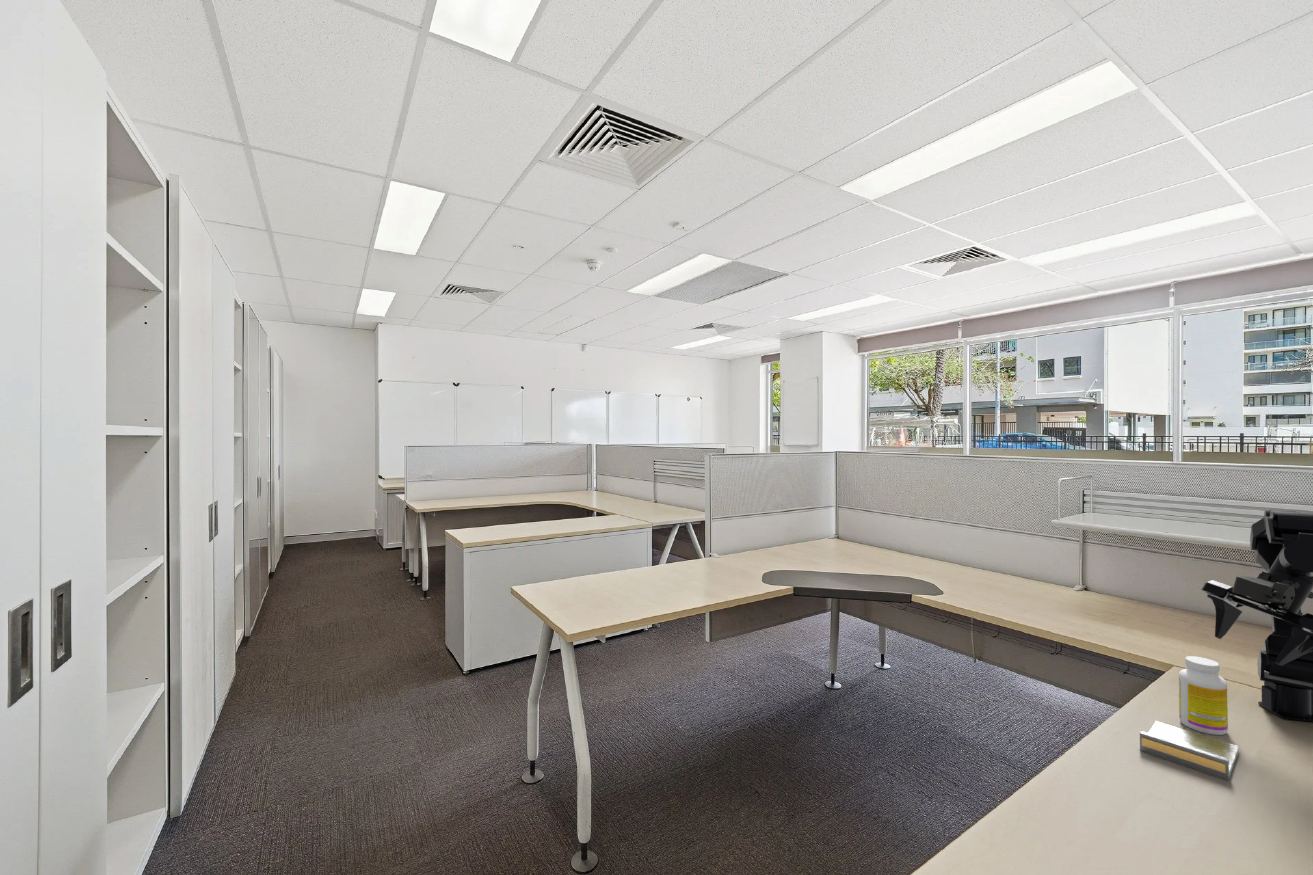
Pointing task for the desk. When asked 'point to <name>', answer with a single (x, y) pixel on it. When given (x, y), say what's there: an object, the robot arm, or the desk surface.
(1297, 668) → the robot arm
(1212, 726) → the supplement bottle
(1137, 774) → the desk surface
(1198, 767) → the grey metal slab
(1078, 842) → the desk surface
